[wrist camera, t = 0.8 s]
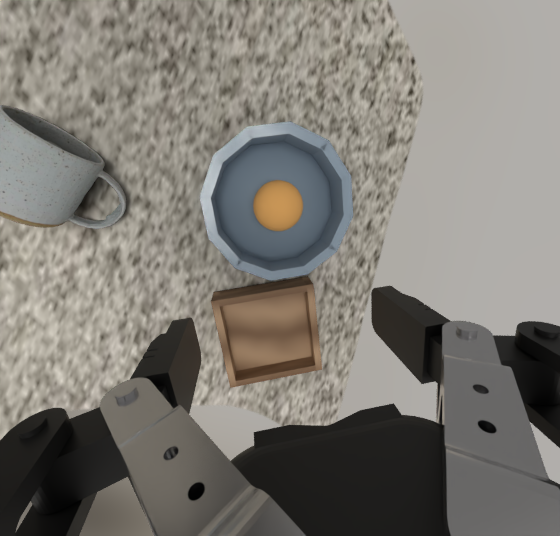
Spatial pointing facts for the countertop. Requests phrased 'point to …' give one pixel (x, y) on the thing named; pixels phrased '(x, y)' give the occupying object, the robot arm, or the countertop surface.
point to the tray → (268, 330)
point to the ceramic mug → (47, 173)
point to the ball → (278, 205)
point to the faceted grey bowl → (268, 167)
